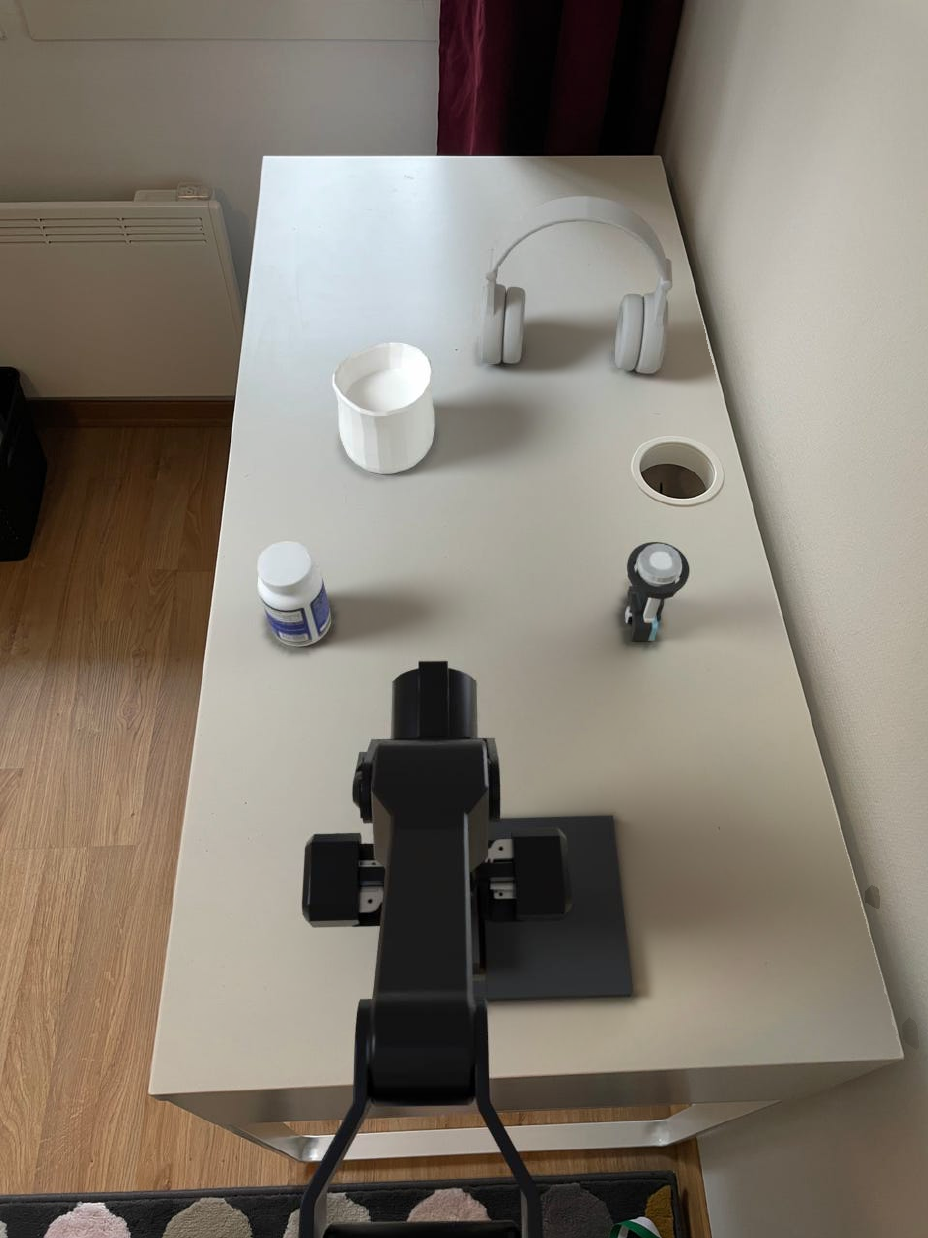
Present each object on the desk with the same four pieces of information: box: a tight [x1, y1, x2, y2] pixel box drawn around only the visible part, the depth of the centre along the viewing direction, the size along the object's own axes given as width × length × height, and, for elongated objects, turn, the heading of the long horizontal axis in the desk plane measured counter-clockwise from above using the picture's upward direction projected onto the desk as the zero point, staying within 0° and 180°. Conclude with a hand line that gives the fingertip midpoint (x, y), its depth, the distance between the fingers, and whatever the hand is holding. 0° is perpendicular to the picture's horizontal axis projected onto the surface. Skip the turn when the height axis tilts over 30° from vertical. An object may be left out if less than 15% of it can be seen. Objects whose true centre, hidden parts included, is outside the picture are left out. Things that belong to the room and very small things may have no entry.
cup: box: [331, 341, 436, 475], centre depth 97 cm, size 10×10×10 cm
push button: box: [624, 541, 691, 642], centre depth 86 cm, size 7×5×10 cm
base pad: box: [473, 814, 634, 1002], centre depth 76 cm, size 14×18×1 cm
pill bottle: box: [256, 540, 332, 647], centre depth 86 cm, size 6×6×10 cm
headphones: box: [477, 195, 673, 375], centre depth 100 cm, size 20×8×19 cm, turn 85°
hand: (438, 906), depth 75 cm, fingers closed on foam pad, 6 cm apart
